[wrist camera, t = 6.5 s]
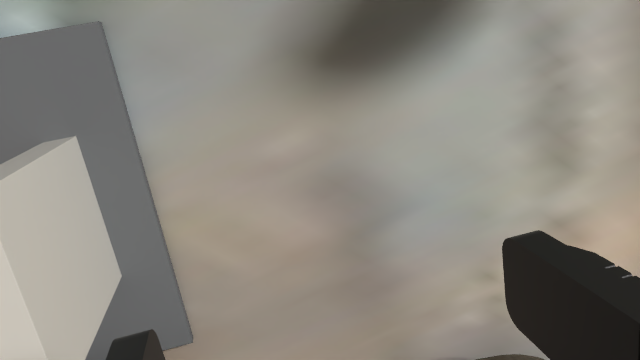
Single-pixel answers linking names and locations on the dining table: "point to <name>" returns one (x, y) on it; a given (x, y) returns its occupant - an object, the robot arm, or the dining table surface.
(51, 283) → the tile
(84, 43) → the mat
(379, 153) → the dining table surface
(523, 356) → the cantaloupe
